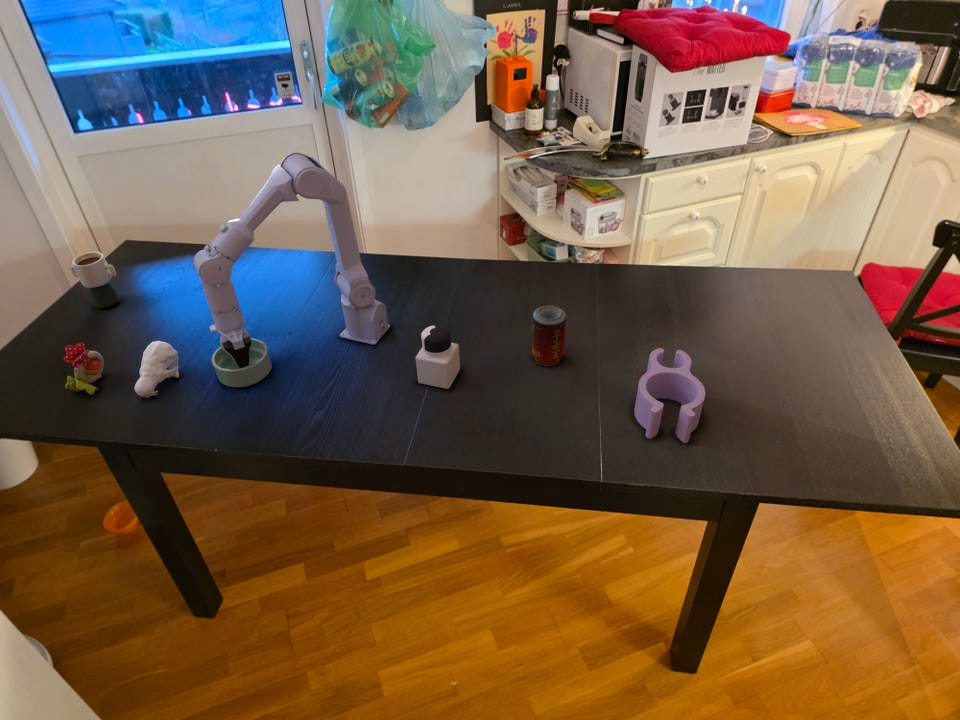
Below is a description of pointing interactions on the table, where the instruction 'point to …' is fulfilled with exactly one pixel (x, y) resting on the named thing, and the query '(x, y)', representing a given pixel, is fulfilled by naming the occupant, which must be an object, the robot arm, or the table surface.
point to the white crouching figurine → (156, 367)
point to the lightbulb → (223, 339)
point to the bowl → (243, 376)
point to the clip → (669, 394)
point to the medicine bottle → (437, 358)
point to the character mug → (96, 278)
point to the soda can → (548, 334)
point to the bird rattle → (83, 367)
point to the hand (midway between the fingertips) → (240, 357)
